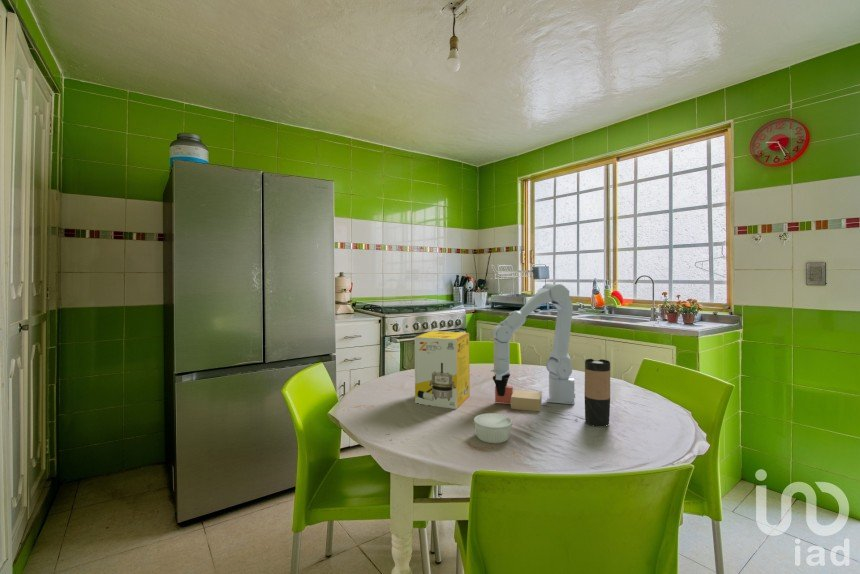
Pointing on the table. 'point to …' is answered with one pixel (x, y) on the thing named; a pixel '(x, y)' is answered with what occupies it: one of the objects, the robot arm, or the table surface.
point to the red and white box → (506, 397)
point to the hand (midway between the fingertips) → (501, 394)
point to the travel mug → (597, 392)
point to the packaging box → (442, 369)
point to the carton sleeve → (526, 400)
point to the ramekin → (493, 427)
